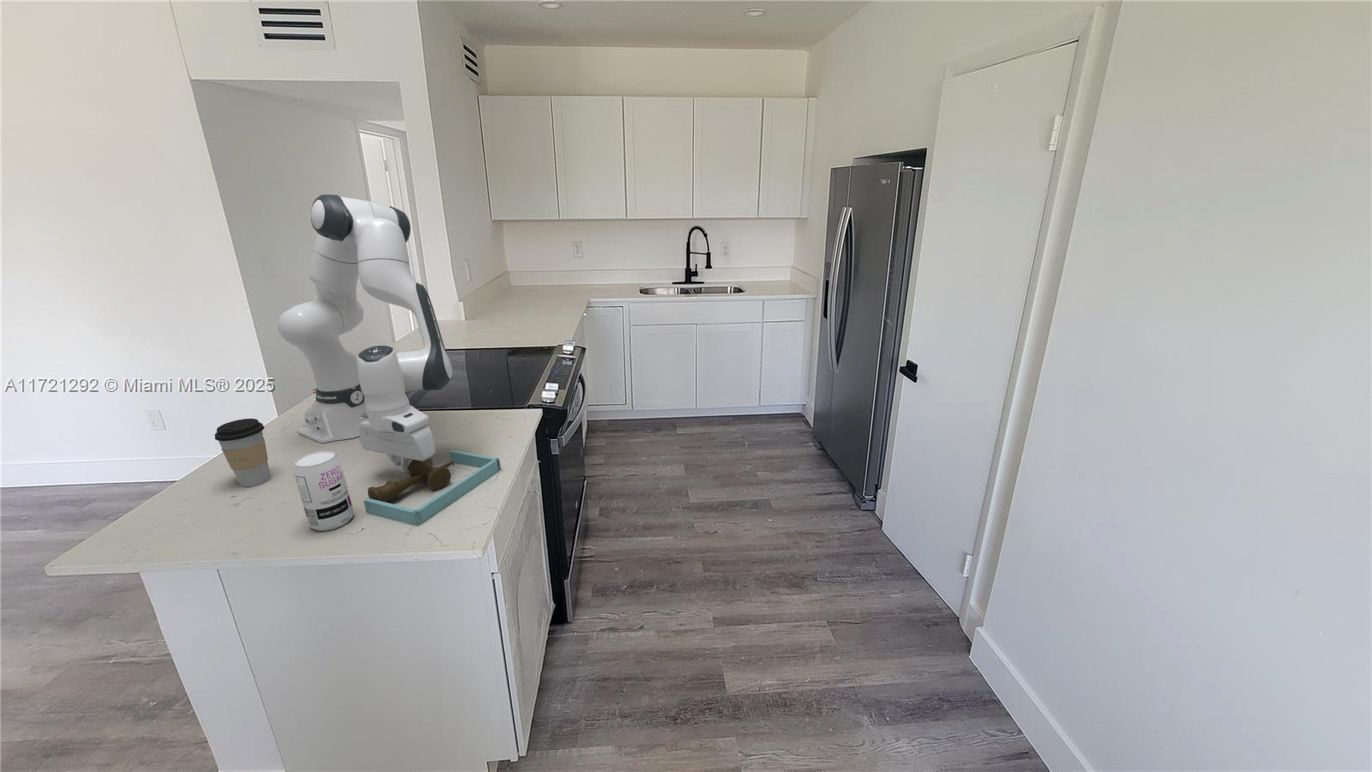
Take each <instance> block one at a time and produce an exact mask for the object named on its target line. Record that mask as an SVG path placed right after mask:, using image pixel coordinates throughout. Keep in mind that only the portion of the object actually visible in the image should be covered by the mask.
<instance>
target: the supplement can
mask: <svg viewBox="0 0 1372 772" xmlns="http://www.w3.org/2000/svg"><path fill="white" fill-rule="evenodd" d="M292 470H293V471H292V473H293V476H294V480H295V481H296V485H297V489H298V492H299V495H300V499H301V502H302V505H303V510H304V513H305V516H306V519H307V522H308V526H309V528H311V529H312V530H315V531H319V532H326V531H332V530H335V529H338V528H340V527H342V526H344V525H346V524H348V522H349V521H351V519H352V518H353V516H354V515H355V512H354V508H353V504H352V499H351V496H350V493H349V490H348V484H347V480H346V477H345V474H344V470H343V467H342V463H341V459H340V457H339V456H338V455H336V453H335V452H334V451H333V450H332V451H331V450H321V451H315V452H311V453H307V454H305V455H302V456H300V457H299V458H297V459H296V460H295V461H294V466H293V469H292Z"/></svg>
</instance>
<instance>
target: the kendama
mask: <svg viewBox="0 0 1372 772" xmlns="http://www.w3.org/2000/svg"><path fill="white" fill-rule="evenodd" d="M433 464H434V463H433V461H432V458H431V457H430V458H429V459H427V460H425V461H419V460H414V459H411V460H410V462H409V467H408V474H409V476H410V477H407V478H403V479H399V480H396V481H393V480H392V481H391V480H387V481H386V482H385V483H384V484H382V485H380V486H375V487H374V486H370V487H368V488H367V496H368V498H369V499H373V500H378V501H382V502H386V503H387V501H389V500H392V499H393V500H394V499H398V498H400V495H401V494H402V493H403V492H405V491H406V490H407V489H410V488H411V487H412V486H414V485H415V484H417V483H418V482H420V481H422V480H424V479H426V480H427V483H428V486H429V487H430V488H431V489H432V490H436V491H437V490H441V489H444V488H445V487H447V486H448V484H449V483H450V481H451V480H452V479H451V478H452V473H451V470H450V469H449V467H450V466H453V464H455V462H454V461H452V462H451V461H449V462H447V463H444V464H442V465H440V466H434V465H433Z"/></svg>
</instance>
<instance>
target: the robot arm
mask: <svg viewBox="0 0 1372 772" xmlns="http://www.w3.org/2000/svg"><path fill="white" fill-rule="evenodd" d="M311 205H312V206H311V210H310V222H311V225H312V229H314V230H315V231H316V234H317V235H316V238H315V241H314V245H313V248H312V249H313V250H312V255H311V259H310V263H309V264H310V265H309V269H308V273H307V274H308V278H309V280H310V281H311V282H312V283H313V284H314V285H315V289H316V291H315V295H314V298H313V299H312V300H310V301H307V302H306V301H305V302H303V303H299V304H296V305H293V306H292V307H290V308H289V309H287V310H286V311H284V312H283V313H281V314H280V316H279V317H278V320H277V329H278V332H279V334H280V335H281V337H282V339H284V340H285V341H286V342H287V343H288V344H291V345H293V346H295V347H297V348H298V349H299V350H300V351H301V352H302V353H303V355H304V356H305V358H306V359H307V361H308V363H309V365H310V368H311V371H312V373H313V378H314V382H315V385H316V388H315V389H312V390H311V391H312V394H315V401H314V402H313V403H312V405H311V406H309V407H308V409H307V410H306V411H305V412H304V421H305V425H304V424H303V426H301V427H300V428H298V429H297V433H298V434H300V435H301V436H304V437H307V438H308V439H311V440H313V441H315V442H318V443H320V444H326V443H329V442H335V441H341V440H343V441H344V440H348V439H353V438H358V437H359V441H360V445H361V447H362V448H363V449H364V450H365V451H370V452H376V453H379V454H384V455H387V458H388V459H389V461H390V463H392V464H393V466H394V470H395V471H397V472H401V473H406V472H407V471H408V467H409V464H410V462H411V460H413V459H414V460H419V461H425V460H427V459H429V458H431V457H433V456H434V455H435V453H436V446H435V445H436V444H435V440H434V437H433V433H432V430H431V428H430V426H428V425H429V423H430V418H429V416H428V414H426V413H424V412H422V411H420V410H419V409H417V408H415V407H414V406H413V405H411V404H410V400H409V397H408V396H407V395H406V392H414V391H440V390H442V389H444V388H445V387H446V386H447V385H448V384H449V383H450V382H451V380H452V379H453V367H452V363H451V361H450V358H449V356H448V353H447V350H446V347H445V344H444V342H443V341H444V340H443V337H442V334H441V331H440V326H439V324H438V320H437V317H436V312H435V310H434V306H433V303H432V301H431V298H430V295H429V293H428V291H427V289H426V288H425V286H424V285H423V284H421V283H419V282H417V281H416V279H415V278H414V276H413V274H412V271H411V265H410V257H409V252H408V246H407V242H408V241H409V239H410V237H411V236H410V235H411V228H412V227H411V223H410V220H409V217H408V215H407V214H406V213H405V212H404V211H402V210H401V209H399V208H396V207H394V206H387V205H385V204H381V203H378V202H376V201H371V200H367V199H359V198H352V197H346V196H340V195H338V194H321V195H319V196H317V197H316V198H315V199H314V201H313V202H312V204H311ZM358 279H359V281H360V284H361V287H362V288H363V289H364V291H365V292H366V293H368V294H369V296H371V297H372V298H375V299H376V300H379V301H381V302H384V303H388V304H390V305H394V306H398V307H401V308H404V309H407V310H409V311H410V312H411V313H412V314H413V315H414V317H415V319H416V322H417V326H418V331H419V333H420V337H421V341H422V343H423V347H422V349H420V350H408V351H407V350H406V351H395V348H393V347H392V346H390V345H374V346H370V347H367V348H365V349H363V350H362V351H360V352H359V353H358V355H357V357H356V355H355V354H354V353H352V352H350V351H348V350H346V349H345V347H344V346H343V344H342V343H341V341H340V337H339V336H342V335H344V334H346V333H348V332H351V331H352V330H354V329H355V328H356V327H357V326H358V325H360V324H361V322H362V321H363V319H364V315H365V314H364V310H363V309H364V308H363V306H362V304H361V303H360V302H359V301H358V298H357V296H358V295H357V285H358ZM313 391H314V392H313ZM408 472H409V471H408Z"/></svg>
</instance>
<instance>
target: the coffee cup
mask: <svg viewBox="0 0 1372 772" xmlns="http://www.w3.org/2000/svg"><path fill="white" fill-rule="evenodd" d="M264 429H265V426H264V424H263V423H262V422H260V421H259V419H257V418H241V419H236V420H232V421H229V422H226V423H224V424H221V425H220V426H218V427H217V428H216V432H215V434H214V440H216V441H218V443H219V445H220V447H221V451H222V453H223V455H224V457H225V459H226V461H227V463H228V465H229V467H230V469H231V470H232V471H233V473H234V475H235V478H236V479H237V481H238V483H239V486H240V487H243V488H247V487H248V488H250V487H257V486H259V485H262V484H264V483H266V482H267V481H269V479H270V478H271V475H270V469H269V468H270V467H269V463H268V459H269V458H268V453H267V447H266V446H267V445H266V441H265V437H264V433H263V431H264Z"/></svg>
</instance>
